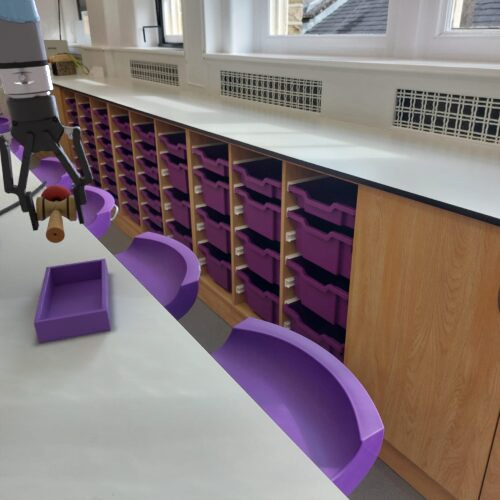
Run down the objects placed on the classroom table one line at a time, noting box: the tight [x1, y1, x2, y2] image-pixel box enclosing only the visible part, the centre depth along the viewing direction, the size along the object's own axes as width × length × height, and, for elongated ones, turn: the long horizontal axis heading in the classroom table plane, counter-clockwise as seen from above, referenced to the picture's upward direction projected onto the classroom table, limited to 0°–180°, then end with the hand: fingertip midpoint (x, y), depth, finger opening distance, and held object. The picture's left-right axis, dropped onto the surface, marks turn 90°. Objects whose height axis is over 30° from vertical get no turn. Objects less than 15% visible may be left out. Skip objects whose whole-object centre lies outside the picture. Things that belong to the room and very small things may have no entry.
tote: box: [33, 258, 112, 344], centre depth 91 cm, size 22×12×5 cm, turn 16°
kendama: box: [35, 184, 78, 244], centre depth 89 cm, size 8×6×18 cm
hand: (59, 224), depth 89 cm, fingers closed on kendama, 7 cm apart
